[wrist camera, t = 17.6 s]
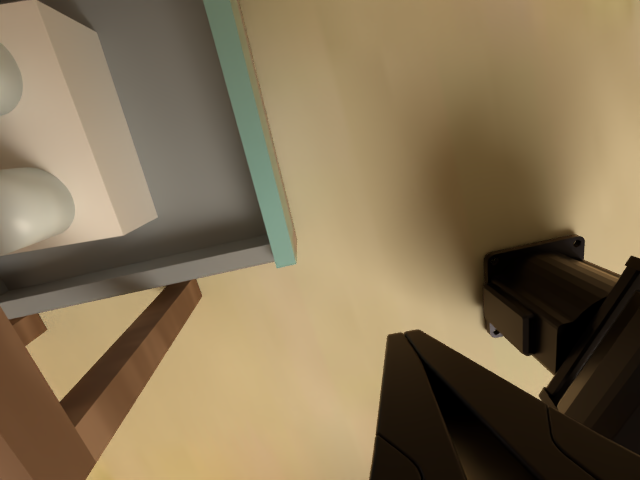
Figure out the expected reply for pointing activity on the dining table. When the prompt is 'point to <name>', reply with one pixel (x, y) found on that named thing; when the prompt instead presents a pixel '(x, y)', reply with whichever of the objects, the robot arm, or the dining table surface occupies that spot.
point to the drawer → (172, 159)
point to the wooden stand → (79, 391)
